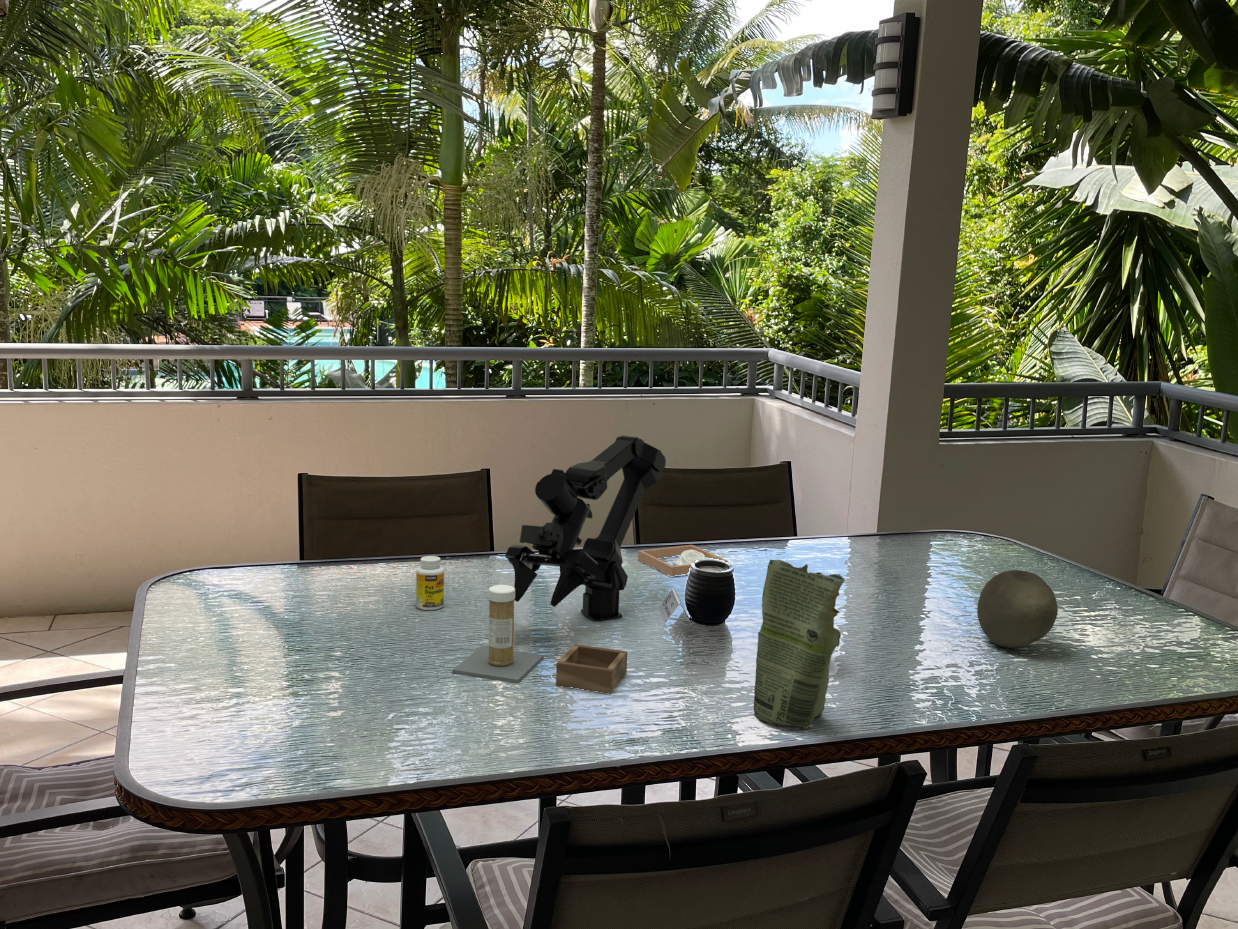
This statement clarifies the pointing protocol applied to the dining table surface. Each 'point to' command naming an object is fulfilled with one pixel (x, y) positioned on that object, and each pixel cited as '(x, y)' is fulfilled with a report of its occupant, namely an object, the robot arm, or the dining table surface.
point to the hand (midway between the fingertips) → (533, 603)
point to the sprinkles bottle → (501, 624)
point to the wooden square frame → (652, 556)
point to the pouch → (795, 644)
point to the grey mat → (510, 673)
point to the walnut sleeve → (591, 668)
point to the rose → (688, 557)
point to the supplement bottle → (430, 584)
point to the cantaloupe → (1016, 608)
